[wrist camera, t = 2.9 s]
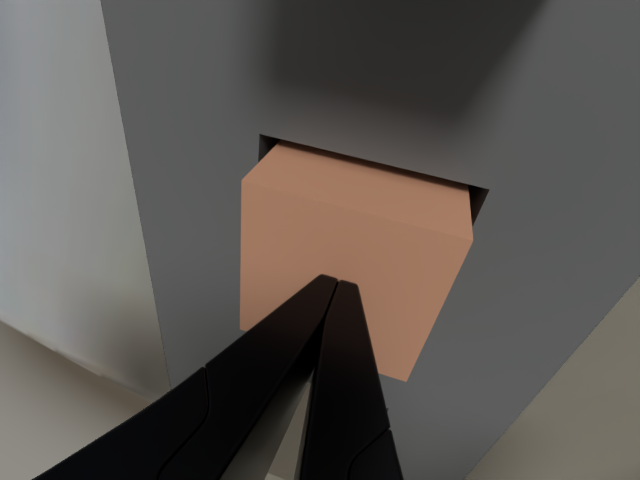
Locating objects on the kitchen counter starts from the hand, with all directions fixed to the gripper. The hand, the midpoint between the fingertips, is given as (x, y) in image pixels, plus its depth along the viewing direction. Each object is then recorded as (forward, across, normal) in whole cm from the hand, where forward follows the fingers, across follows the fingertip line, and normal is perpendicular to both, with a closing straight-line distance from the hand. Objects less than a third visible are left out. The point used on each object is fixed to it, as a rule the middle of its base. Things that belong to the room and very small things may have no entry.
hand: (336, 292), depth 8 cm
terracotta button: (+3, 0, 0) cm, 3 cm away
